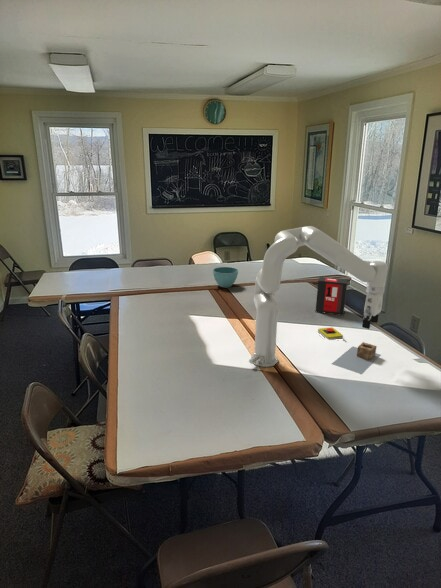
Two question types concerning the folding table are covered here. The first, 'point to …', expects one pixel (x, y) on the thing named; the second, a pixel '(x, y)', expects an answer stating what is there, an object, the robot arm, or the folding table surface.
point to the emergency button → (330, 333)
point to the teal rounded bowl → (225, 276)
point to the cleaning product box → (331, 295)
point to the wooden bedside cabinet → (366, 351)
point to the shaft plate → (354, 361)
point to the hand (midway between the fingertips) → (369, 324)
